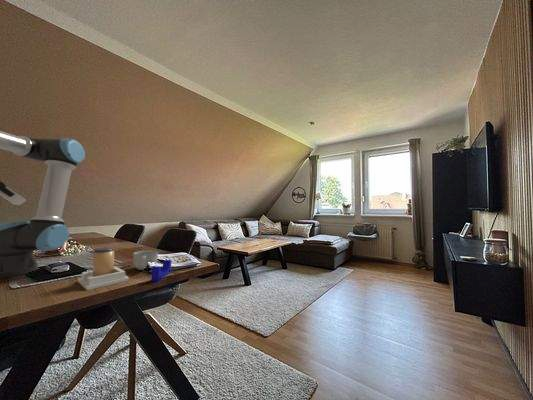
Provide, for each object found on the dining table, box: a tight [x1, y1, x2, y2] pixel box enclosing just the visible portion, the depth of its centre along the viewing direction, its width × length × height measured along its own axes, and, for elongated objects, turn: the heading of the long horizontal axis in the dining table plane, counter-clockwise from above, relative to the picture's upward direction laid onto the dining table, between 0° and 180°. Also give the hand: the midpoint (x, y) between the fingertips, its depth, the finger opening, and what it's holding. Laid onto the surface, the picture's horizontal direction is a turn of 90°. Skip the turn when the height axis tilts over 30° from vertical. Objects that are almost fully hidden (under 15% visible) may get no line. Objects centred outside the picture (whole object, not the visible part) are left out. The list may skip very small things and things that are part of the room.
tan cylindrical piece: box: [92, 246, 115, 277], centre depth 93 cm, size 7×7×12 cm
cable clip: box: [150, 259, 172, 282], centre depth 99 cm, size 12×4×6 cm, turn 0°
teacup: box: [132, 250, 159, 271], centre depth 110 cm, size 14×11×8 cm
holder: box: [77, 265, 130, 291], centre depth 93 cm, size 14×14×4 cm
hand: (20, 202), depth 82 cm, fingers open, 13 cm apart
